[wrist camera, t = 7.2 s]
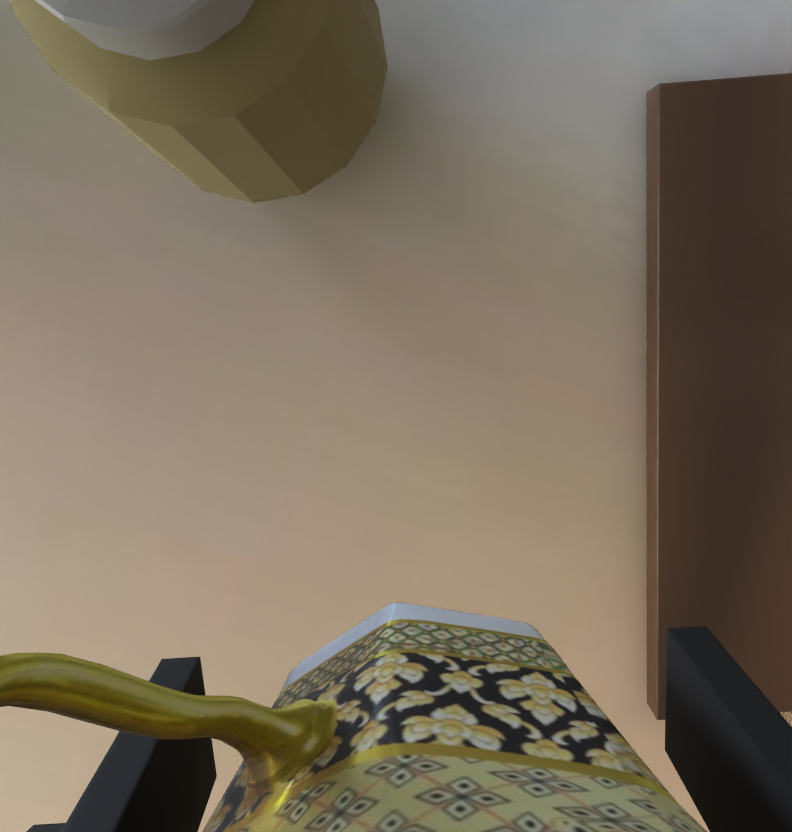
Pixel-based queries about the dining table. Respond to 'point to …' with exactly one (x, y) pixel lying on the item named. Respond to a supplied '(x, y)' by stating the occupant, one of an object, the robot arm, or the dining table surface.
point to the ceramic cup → (391, 733)
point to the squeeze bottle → (225, 82)
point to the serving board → (720, 374)
